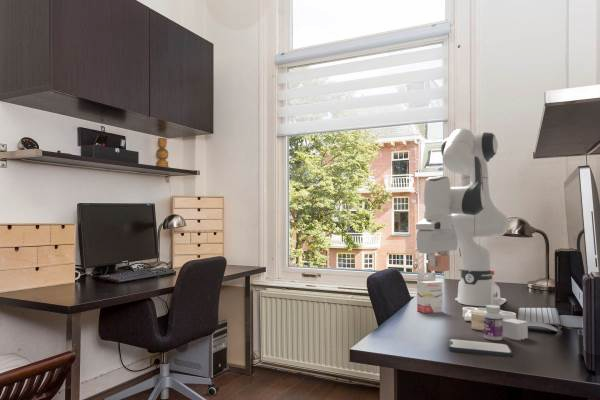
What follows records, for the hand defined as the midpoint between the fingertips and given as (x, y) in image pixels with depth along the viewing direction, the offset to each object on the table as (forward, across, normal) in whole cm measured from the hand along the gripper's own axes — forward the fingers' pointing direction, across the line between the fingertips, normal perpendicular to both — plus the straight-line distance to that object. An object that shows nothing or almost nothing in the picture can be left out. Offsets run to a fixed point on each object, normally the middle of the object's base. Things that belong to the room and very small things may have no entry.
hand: (438, 265), depth 146 cm
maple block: (+21, -9, +10) cm, 25 cm away
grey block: (+21, -6, +22) cm, 31 cm away
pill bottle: (+21, 0, +18) cm, 27 cm away
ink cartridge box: (+21, -19, -15) cm, 32 cm away
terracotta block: (+2, 0, 0) cm, 2 cm away
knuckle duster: (+21, -22, +6) cm, 31 cm away
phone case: (+21, +14, +20) cm, 32 cm away
